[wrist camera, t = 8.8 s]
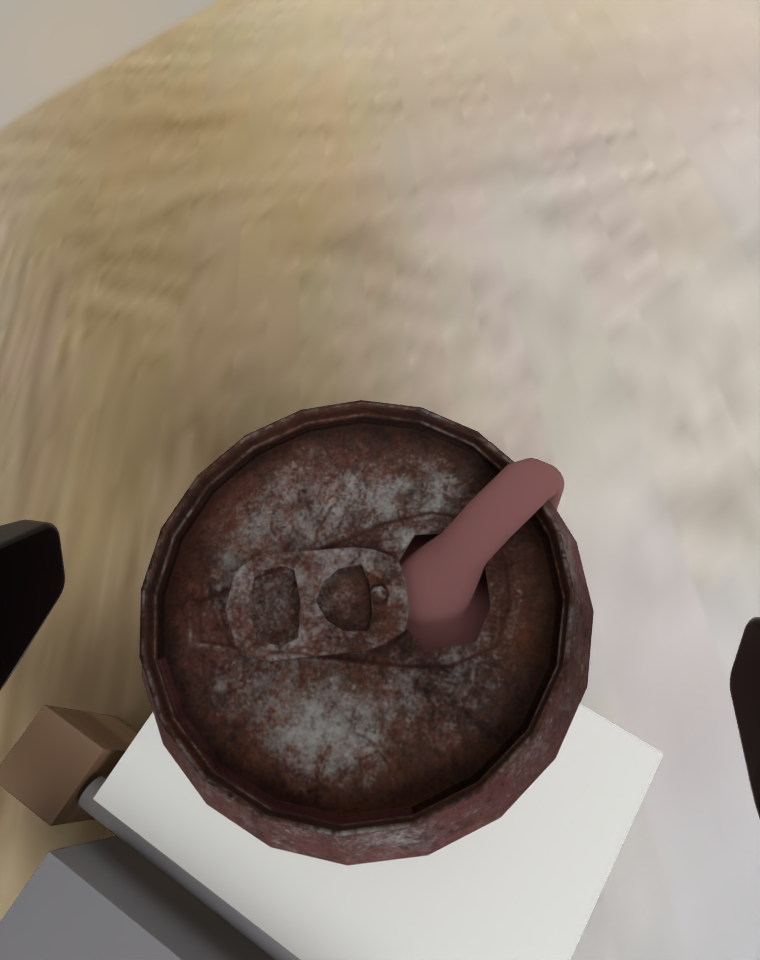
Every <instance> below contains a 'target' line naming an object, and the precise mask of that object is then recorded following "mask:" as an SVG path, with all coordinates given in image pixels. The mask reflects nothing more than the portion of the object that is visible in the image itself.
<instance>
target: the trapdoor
mask: <svg viewBox="0 0 760 960" xmlns="http://www.w3.org/2000/svg"><path fill="white" fill-rule="evenodd" d="M663 754H664V753H662V752H660V751H659V750H657V749H655V748H654V747H652V746H650V745H649V744H647V743H645V742H644V741H642V740H640V739H639V738H637V737H635V736H633V735H632V734H630V733H628V732H627V731H625V730H623V729H622V728H620V727H618V726H617V725H615V724H613V723H612V722H610V721H608V720H607V719H605V718H603V717H602V716H600V715H598V714H596V713H595V712H593V711H591V710H590V709H588V708H586V707H585V706H583V705H581V704H579V706H578V709H577V711H576V713H575V716H574V718H573V720H572V722H571V725H570V727H569V729H568V732H567V734H566V736H565V738H564V741H563V743H562V745H561V748H560V750H559V752H558V754H557V757H556V759H555V760H554V761H553V762H552V763H551V764H550V765H549V766H548V767H547V768H546V769H545V770H544V772H543V773H542V774H541V775H540V776H539V777H538V778H537V779H536V780H535V781H534V782H533V783H532V784H531V786H530V787H529V788H528V789H527V790H526V791H525V792H524V793H523V794H522V795H521V796H520V797H519V798H518V800H517V801H516V802H515V803H514V804H513V805H512V806H511V807H510V808H509V809H508V810H507V811H506V812H505V814H504V815H503V816H502V817H501V818H499V819H497V820H495V821H493V822H491V823H490V824H488V825H486V826H484V827H482V828H480V829H478V830H476V831H474V832H472V833H470V834H468V835H466V836H464V837H462V838H461V839H459V840H457V841H455V842H453V843H451V844H449V845H447V846H445V847H443V848H441V849H439V850H437V851H435V852H434V853H432V854H430V855H427V856H419V857H411V858H403V859H396V860H388V861H380V862H372V863H364V864H356V865H348V866H347V865H343V864H339V863H335V862H330V861H326V860H322V859H318V858H314V857H309V856H305V855H301V854H297V853H293V852H288V851H284V850H280V849H276V848H272V847H269V846H268V845H266V844H265V843H263V842H262V841H260V840H259V839H257V838H256V837H254V836H253V835H251V834H250V833H248V832H247V831H246V830H244V829H243V828H241V827H240V826H238V825H237V824H235V823H234V822H232V821H231V820H229V819H228V818H226V817H225V816H223V815H222V814H220V813H219V812H217V811H216V810H214V809H213V808H211V807H210V806H208V805H207V804H206V803H205V801H204V800H203V799H202V797H201V796H200V794H199V793H198V792H197V790H196V789H195V788H194V786H193V785H192V784H191V782H190V781H189V779H188V778H187V777H186V775H185V774H184V773H183V771H182V770H181V768H180V767H179V766H178V764H177V763H176V762H175V760H174V759H173V757H172V756H171V755H170V753H169V752H168V751H167V749H166V748H165V746H164V745H163V743H162V739H161V736H160V733H159V729H158V726H157V723H156V720H155V716H154V713H153V712H152V714H151V715H150V717H149V718H148V720H147V721H146V723H145V724H144V725H143V727H142V728H141V730H140V731H139V733H138V734H137V736H136V737H135V739H134V740H133V741H132V743H131V744H130V746H129V747H128V749H127V750H126V752H125V753H124V755H123V756H122V757H121V759H120V760H119V762H118V763H117V765H116V766H115V768H114V769H113V771H112V772H111V773H110V775H109V776H108V778H107V779H105V778H104V777H102V776H100V777H98V778H96V779H95V780H94V781H93V782H91V783H90V785H89V786H88V787H87V788H86V789H85V791H84V792H83V793H82V795H81V797H80V799H79V802H78V805H79V806H80V807H81V808H82V809H83V810H85V811H86V812H87V813H89V814H90V815H91V816H92V817H94V818H95V819H96V820H97V821H99V822H100V823H101V824H103V825H104V826H105V827H106V828H108V829H109V830H110V831H112V832H113V833H114V834H115V835H117V836H115V837H110V838H106V839H102V840H97V841H93V842H88V843H84V844H80V845H75V846H71V847H67V848H62V849H58V850H53V851H49V852H48V854H47V855H46V857H45V858H44V859H43V861H42V862H41V864H40V865H39V867H38V868H37V870H36V871H35V872H34V874H33V875H32V877H31V878H30V880H29V881H28V883H27V884H26V885H25V887H24V888H23V890H22V891H21V893H20V894H19V896H18V897H17V899H16V900H15V901H14V903H13V904H12V906H11V907H10V909H9V910H8V912H7V913H6V914H5V916H4V917H3V919H2V920H1V922H0V960H571V957H572V955H573V953H574V951H575V949H576V946H577V944H578V942H579V940H580V938H581V935H582V933H583V931H584V929H585V927H586V924H587V922H588V920H589V918H590V915H591V913H592V911H593V909H594V907H595V904H596V902H597V900H598V898H599V896H600V893H601V891H602V889H603V887H604V885H605V882H606V880H607V878H608V876H609V874H610V871H611V869H612V867H613V865H614V863H615V860H616V858H617V856H618V854H619V851H620V849H621V847H622V845H623V843H624V840H625V838H626V836H627V834H628V832H629V829H630V827H631V825H632V823H633V821H634V818H635V816H636V814H637V812H638V810H639V807H640V805H641V803H642V801H643V799H644V796H645V794H646V792H647V790H648V787H649V785H650V783H651V781H652V779H653V776H654V774H655V772H656V770H657V768H658V765H659V763H660V761H661V759H662V757H663Z"/></svg>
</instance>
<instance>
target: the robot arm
mask: <svg viewBox="0 0 760 960" xmlns="http://www.w3.org/2000/svg"><path fill="white" fill-rule="evenodd" d="M64 583H65V573H64V565H63V557H62V550H61V542H60V536H59V532H58V530H57V528H56V527H55V526H54V525H53V524H51V523H48V522H40V521H33V520H21V521H17V522H13V523H9V524H5V525H1V526H0V690H1V689H2V687H3V686H4V685H5V683H6V682H7V680H8V679H9V677H10V676H11V674H12V673H13V671H14V670H15V668H16V666H17V665H18V663H19V662H20V660H21V658H22V657H23V655H24V653H25V652H26V650H27V649H28V647H29V645H30V644H31V642H32V641H33V639H34V637H35V636H36V634H37V632H38V631H39V629H40V628H41V626H42V624H43V623H44V621H45V619H46V618H47V616H48V615H49V613H50V611H51V610H52V608H53V607H54V605H55V603H56V602H57V600H58V598H59V597H60V595H61V593H62V590H63V588H64ZM730 691H731V697H732V701H733V706H734V711H735V715H736V720H737V725H738V729H739V734H740V739H741V743H742V748H743V753H744V757H745V762H746V767H747V771H748V776H749V781H750V785H751V789H752V793H753V797H754V801H755V805H756V808H757V812H758V815H759V818H760V617H754V618H752V619H751V620H750V621H749V622H748V624H747V625H746V627H745V630H744V633H743V636H742V639H741V642H740V645H739V648H738V652H737V655H736V658H735V661H734V664H733V667H732V671H731V675H730Z"/></svg>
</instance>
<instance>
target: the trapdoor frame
mask: <svg viewBox="0 0 760 960" xmlns="http://www.w3.org/2000/svg"><path fill="white" fill-rule="evenodd" d="M137 734H138V733H137V732H136V731H135V730H133V729H132V728H130V727H129V726H128V725H126V724H125V723H124V722H122V721H121V720H119V719H118V718H117V717H115V716H109V715H103V714H97V713H91V712H85V711H79V710H72V709H66V708H60V707H54V706H48V705H44V706H43V708H42V709H41V710H40V712H39V713H38V714H37V716H36V717H35V718H34V720H33V721H32V722H31V724H30V725H29V726H28V728H27V729H26V730H25V732H24V733H23V735H22V736H21V737H20V739H19V740H18V741H17V743H16V744H15V745H14V747H13V748H12V749H11V751H10V752H9V753H8V755H7V756H6V757H5V759H4V760H3V761H2V763H1V764H0V786H1V787H3V788H4V789H5V790H6V791H8V792H9V793H10V794H11V795H13V796H14V797H15V798H16V799H18V800H19V801H20V802H21V803H23V804H24V805H25V806H26V807H28V808H29V809H30V810H31V811H33V812H34V813H35V814H36V815H38V816H39V817H40V818H41V819H43V820H44V821H45V822H46V823H48V824H49V825H50V826H52V825H58V824H65V823H71V822H78V821H85V820H91V819H95V818H94V817H92V816H91V815H90V814H89V813H87V812H86V811H85V810H83V809H82V808H81V807H80V806H79V805H78V802H79V799H80V797H81V795H82V793H83V792H84V791H85V789H86V788H87V787H88V786H89V785H90V783H91V782H93V781H94V780H95V779H96V778H98V777H100V776H102V777H104V778H105V779H107V778H108V776H109V775H110V773H111V772H112V771H113V769H114V768H115V766H116V765H117V763H118V762H119V760H120V759H121V757H122V756H123V755H124V753H125V752H126V750H127V749H128V747H129V746H130V744H131V743H132V741H133V740H134V739H135V737H136V736H137Z"/></svg>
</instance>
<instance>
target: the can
mask: <svg viewBox="0 0 760 960" xmlns="http://www.w3.org/2000/svg"><path fill="white" fill-rule="evenodd" d="M563 489H564V480H563V477H562V475H561V473H560V472H559V471H558V470H557V468H555V467H554V466H552V465H550V464H548V463H545V462H543V461H540V460H538V459H534V458H528V459H524V460H521V461H518V462H514V461H512V460H511V459H510V458H509V457H508V456H507V455H505V454H504V453H503V452H502V451H501V450H499V449H498V448H497V447H496V446H495V445H494V444H492V443H491V442H489V441H488V440H487V439H486V438H485V437H483V436H482V435H481V434H480V433H479V432H477V431H475V430H473V429H470V428H468V427H466V426H463V425H461V424H459V423H456V422H454V421H452V420H449V419H447V418H445V417H442V416H440V415H438V414H435V413H433V412H431V411H428V410H426V409H424V408H421V407H413V406H405V405H396V404H388V403H379V402H371V401H362V400H360V401H354V402H348V403H341V404H335V405H329V406H323V407H317V408H310V409H304V410H300V411H298V412H296V413H293V414H291V415H289V416H287V417H285V418H282V419H280V420H278V421H276V422H274V423H272V424H269V425H267V426H265V427H263V428H261V429H258V430H256V431H254V432H252V433H250V434H247V435H245V436H244V437H243V438H242V439H241V440H239V441H238V442H237V443H236V444H235V445H233V446H232V447H231V448H230V449H229V450H227V451H226V452H225V453H224V454H223V455H221V456H220V457H219V458H218V459H217V460H215V461H214V462H213V463H212V464H211V465H209V466H208V467H207V468H206V469H205V470H204V471H202V472H201V473H200V474H199V475H198V476H197V477H196V478H195V480H194V481H193V483H192V484H191V486H190V487H189V489H188V490H187V492H186V493H185V494H184V496H183V497H182V499H181V500H180V502H179V503H178V505H177V506H176V508H175V509H174V510H173V512H172V513H171V515H170V516H169V518H168V519H167V521H166V522H165V524H164V525H163V527H162V528H161V531H160V534H159V537H158V540H157V543H156V546H155V549H154V552H153V555H152V558H151V561H150V564H149V567H148V570H147V573H146V576H145V579H144V582H143V586H142V589H141V617H140V659H141V663H142V677H143V680H144V683H145V687H146V690H147V693H148V697H149V700H150V703H151V706H152V710H153V713H154V716H155V720H156V723H157V726H158V729H159V733H160V736H161V739H162V743H163V745H164V746H165V748H166V749H167V751H168V752H169V753H170V755H171V756H172V757H173V759H174V760H175V762H176V763H177V764H178V766H179V767H180V768H181V770H182V771H183V773H184V774H185V775H186V777H187V778H188V779H189V781H190V782H191V784H192V785H193V786H194V788H195V789H196V790H197V792H198V793H199V794H200V796H201V797H202V799H203V800H204V801H205V803H206V804H207V805H208V806H210V807H211V808H213V809H214V810H216V811H217V812H219V813H220V814H222V815H223V816H225V817H226V818H228V819H229V820H231V821H232V822H234V823H235V824H237V825H238V826H240V827H241V828H243V829H244V830H246V831H247V832H248V833H250V834H251V835H253V836H254V837H256V838H257V839H259V840H260V841H262V842H263V843H265V844H266V845H268V846H269V847H272V848H276V849H280V850H284V851H288V852H293V853H297V854H301V855H305V856H309V857H314V858H318V859H322V860H326V861H330V862H335V863H339V864H343V865H347V866H348V865H356V864H364V863H372V862H380V861H388V860H396V859H403V858H411V857H419V856H427V855H430V854H432V853H434V852H435V851H437V850H439V849H441V848H443V847H445V846H447V845H449V844H451V843H453V842H455V841H457V840H459V839H461V838H462V837H464V836H466V835H468V834H470V833H472V832H474V831H476V830H478V829H480V828H482V827H484V826H486V825H488V824H490V823H491V822H493V821H495V820H497V819H499V818H501V817H502V816H503V815H504V814H505V812H506V811H507V810H508V809H509V808H510V807H511V806H512V805H513V804H514V803H515V802H516V801H517V800H518V798H519V797H520V796H521V795H522V794H523V793H524V792H525V791H526V790H527V789H528V788H529V787H530V786H531V784H532V783H533V782H534V781H535V780H536V779H537V778H538V777H539V776H540V775H541V774H542V773H543V772H544V770H545V769H546V768H547V767H548V766H549V765H550V764H551V763H552V762H553V761H554V760H555V759H556V757H557V754H558V752H559V750H560V748H561V745H562V743H563V741H564V738H565V736H566V734H567V732H568V729H569V727H570V725H571V722H572V720H573V718H574V716H575V713H576V711H577V709H578V706H579V704H580V702H581V699H582V697H583V695H584V693H585V690H586V688H587V683H588V671H589V659H590V647H591V635H592V623H593V608H592V604H591V599H590V595H589V591H588V587H587V583H586V579H585V575H584V571H583V567H582V563H581V559H580V555H579V551H578V546H577V542H576V541H575V539H574V537H573V536H572V534H571V533H570V531H569V529H568V528H567V526H566V525H565V523H564V521H563V520H562V518H561V517H560V515H559V513H558V512H557V507H558V504H559V501H560V498H561V495H562V492H563Z"/></svg>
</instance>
